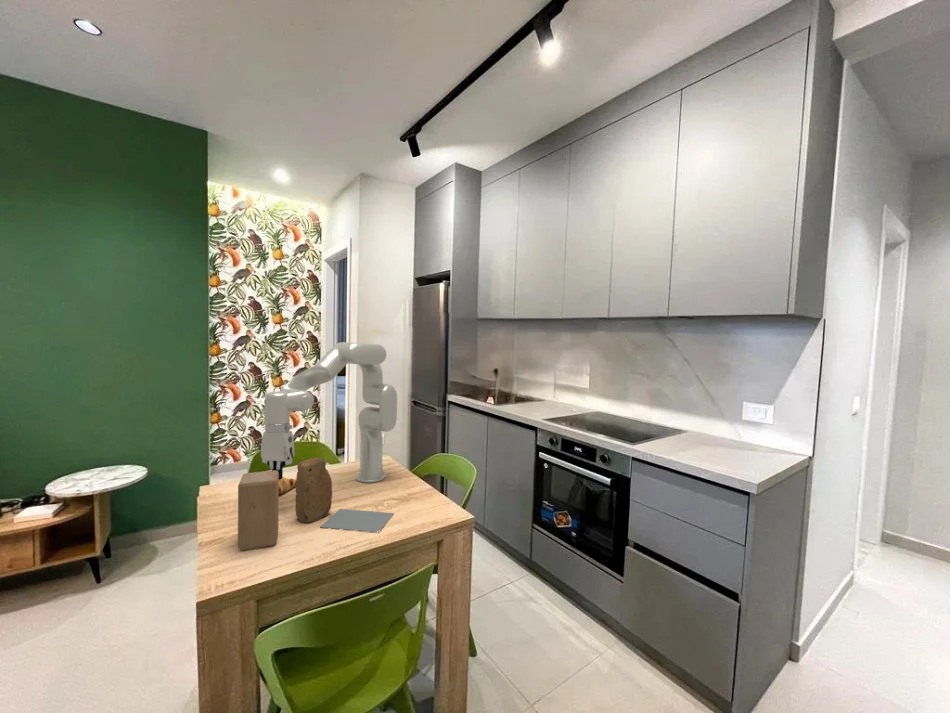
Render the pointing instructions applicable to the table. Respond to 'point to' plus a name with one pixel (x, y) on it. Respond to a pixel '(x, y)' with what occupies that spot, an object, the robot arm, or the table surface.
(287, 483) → the croissant
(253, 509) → the wooden block
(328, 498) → the brown rounded lump
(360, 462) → the robot arm
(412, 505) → the table surface
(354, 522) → the mat
